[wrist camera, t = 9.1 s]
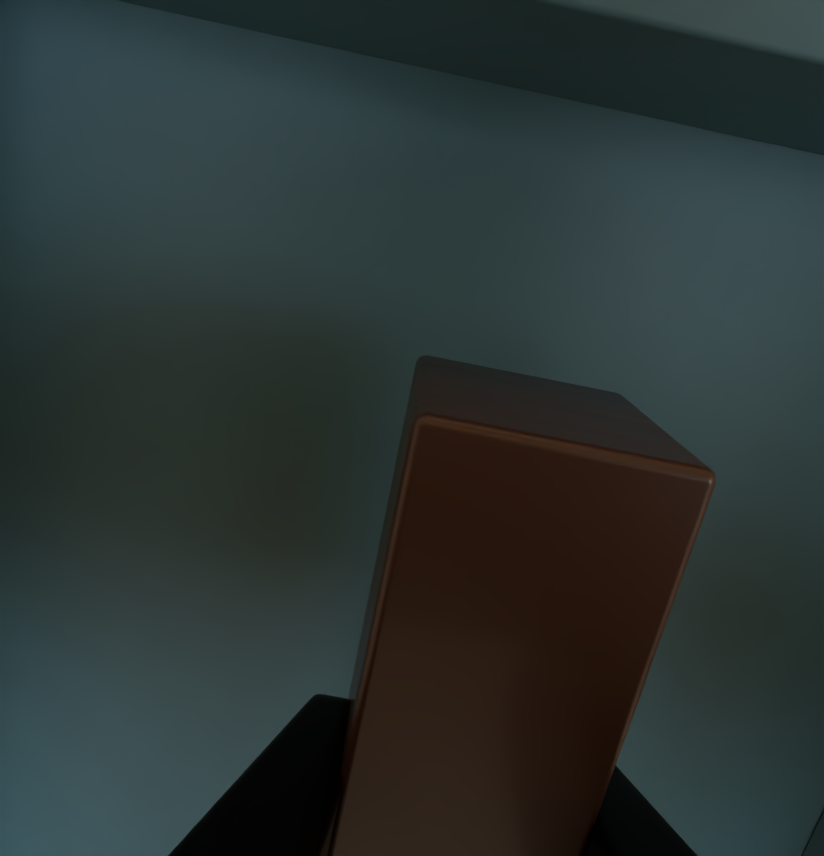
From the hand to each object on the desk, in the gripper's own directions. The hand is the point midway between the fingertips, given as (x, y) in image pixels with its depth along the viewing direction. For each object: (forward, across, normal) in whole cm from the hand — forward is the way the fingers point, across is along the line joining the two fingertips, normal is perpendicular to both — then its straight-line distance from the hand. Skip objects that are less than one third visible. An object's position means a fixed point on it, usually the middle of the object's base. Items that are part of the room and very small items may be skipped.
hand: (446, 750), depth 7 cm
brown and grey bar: (+1, 0, +2) cm, 2 cm away
